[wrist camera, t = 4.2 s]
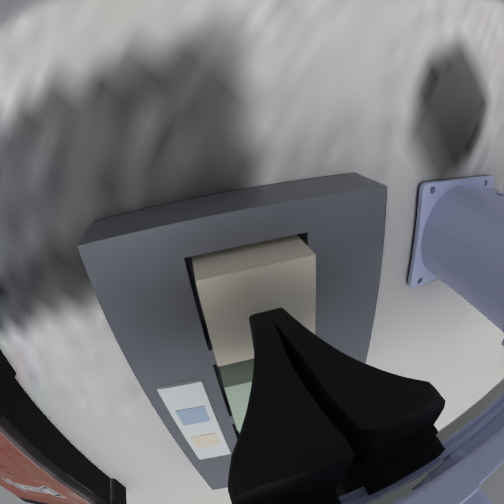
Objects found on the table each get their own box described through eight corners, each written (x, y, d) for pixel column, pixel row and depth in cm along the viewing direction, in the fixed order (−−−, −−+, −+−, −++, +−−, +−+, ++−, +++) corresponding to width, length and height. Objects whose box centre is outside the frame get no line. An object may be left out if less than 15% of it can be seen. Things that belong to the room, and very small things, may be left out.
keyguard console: (354, 172, 16) (390, 187, 13) (330, 433, 29) (341, 455, 26) (93, 221, 14) (75, 248, 11) (207, 467, 26) (213, 491, 24)
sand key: (296, 234, 14) (315, 254, 12) (299, 316, 16) (314, 341, 14) (191, 256, 13) (195, 281, 11) (211, 338, 15) (217, 366, 13)
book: (-97, 343, 12) (-115, 374, 8) (-3, 337, 15) (-28, 386, 11) (24, 476, 24) (21, 503, 19) (125, 484, 27) (127, 517, 22)
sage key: (300, 338, 17) (314, 363, 15) (300, 387, 19) (311, 410, 17) (217, 359, 16) (224, 388, 14) (231, 406, 18) (237, 431, 16)
